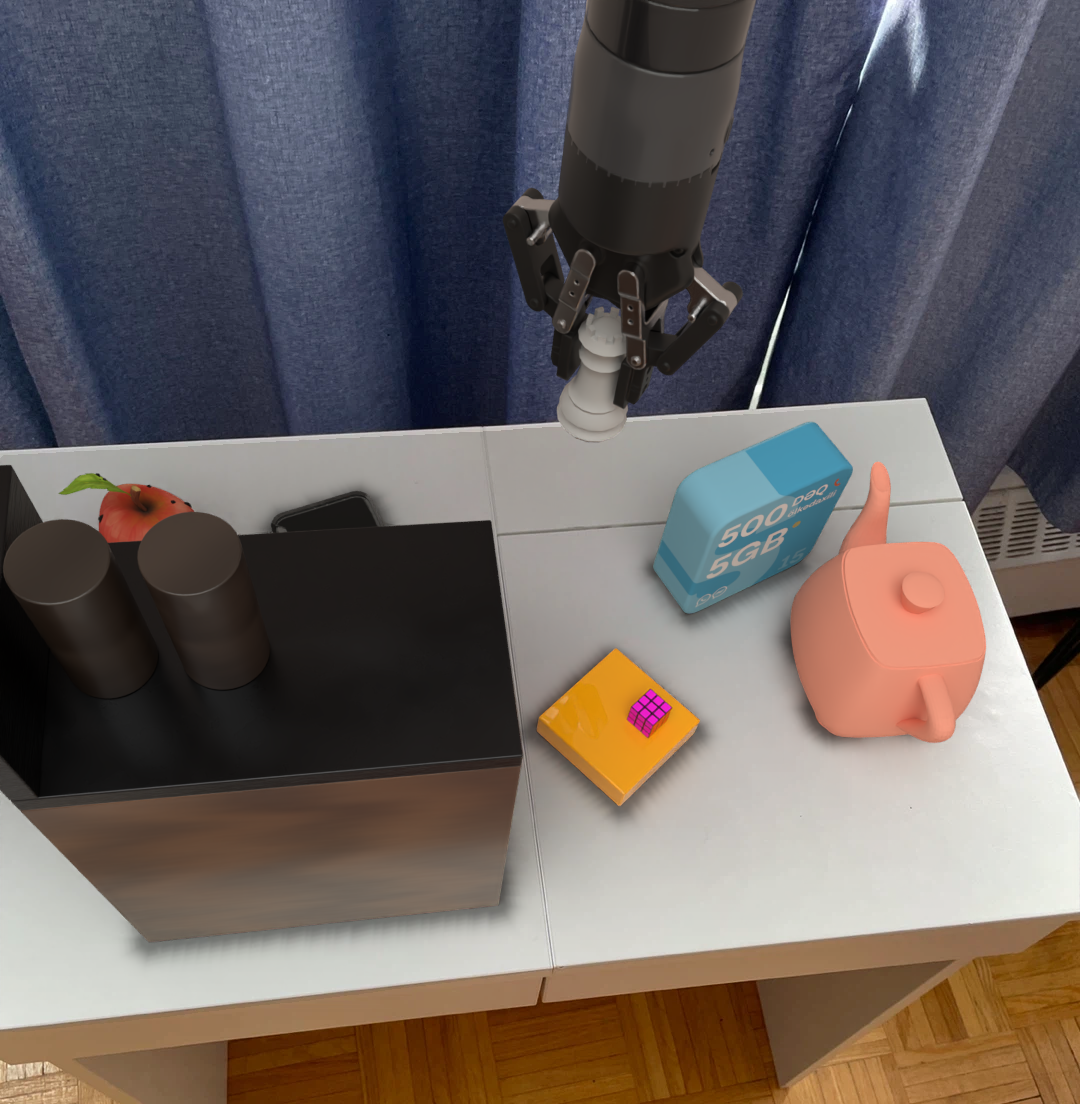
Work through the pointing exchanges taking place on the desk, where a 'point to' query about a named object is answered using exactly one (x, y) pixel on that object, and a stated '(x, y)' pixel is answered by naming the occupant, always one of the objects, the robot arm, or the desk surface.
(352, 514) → the phone
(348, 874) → the wooden panel
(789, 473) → the data package
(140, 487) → the apple
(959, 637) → the teapot
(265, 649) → the dark brown cylinder
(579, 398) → the rook chess piece
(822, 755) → the desk surface
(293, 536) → the black flat slab
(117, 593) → the dark brown cylinder
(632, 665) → the orange square tile
